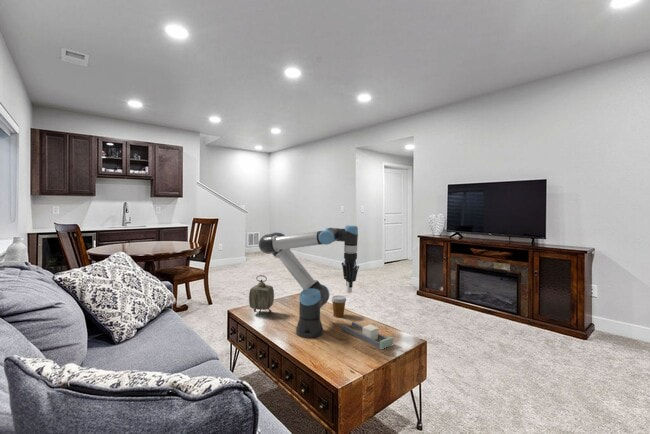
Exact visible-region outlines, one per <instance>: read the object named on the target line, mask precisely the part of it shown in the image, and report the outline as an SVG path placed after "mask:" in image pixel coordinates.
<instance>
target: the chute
mask: <svg viewBox="0 0 650 434" xmlns="http://www.w3.org/2000/svg"><path fill="white" fill-rule="evenodd" d="M362 327H364V326H363V325H361V324H358V323H356V322H355V321H352V322H351V327H348V326H347V325H345V324H341V330H342V331H344V332H346V333H348V334H351V335H352V336H355V337H356V338H358V339H359V340H362V341H364V342H365V343H367V344H370V345H371V346H373V345H374V347H375V346H376V348H377V347H378V348H377V349H379V348H380V350H381V349H383V350H385V349H387V348H386V347H388V346H390V345H392V344H393V345H394V337H392V336H389V337H386V336H385V335H382V334H380V333H378V339H377V340H379V339H380V340H379V341H377V340H373V339H371V338H369V337H367V336H365V335H363V334H362V333H361V332H362ZM353 328H354V329H353ZM355 329H356V330H355ZM357 330H358V331H357ZM360 330H361V331H360ZM393 345H392V346H393ZM390 347H391V346H390ZM384 348H385V349H384ZM388 348H389V347H388Z"/></svg>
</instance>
